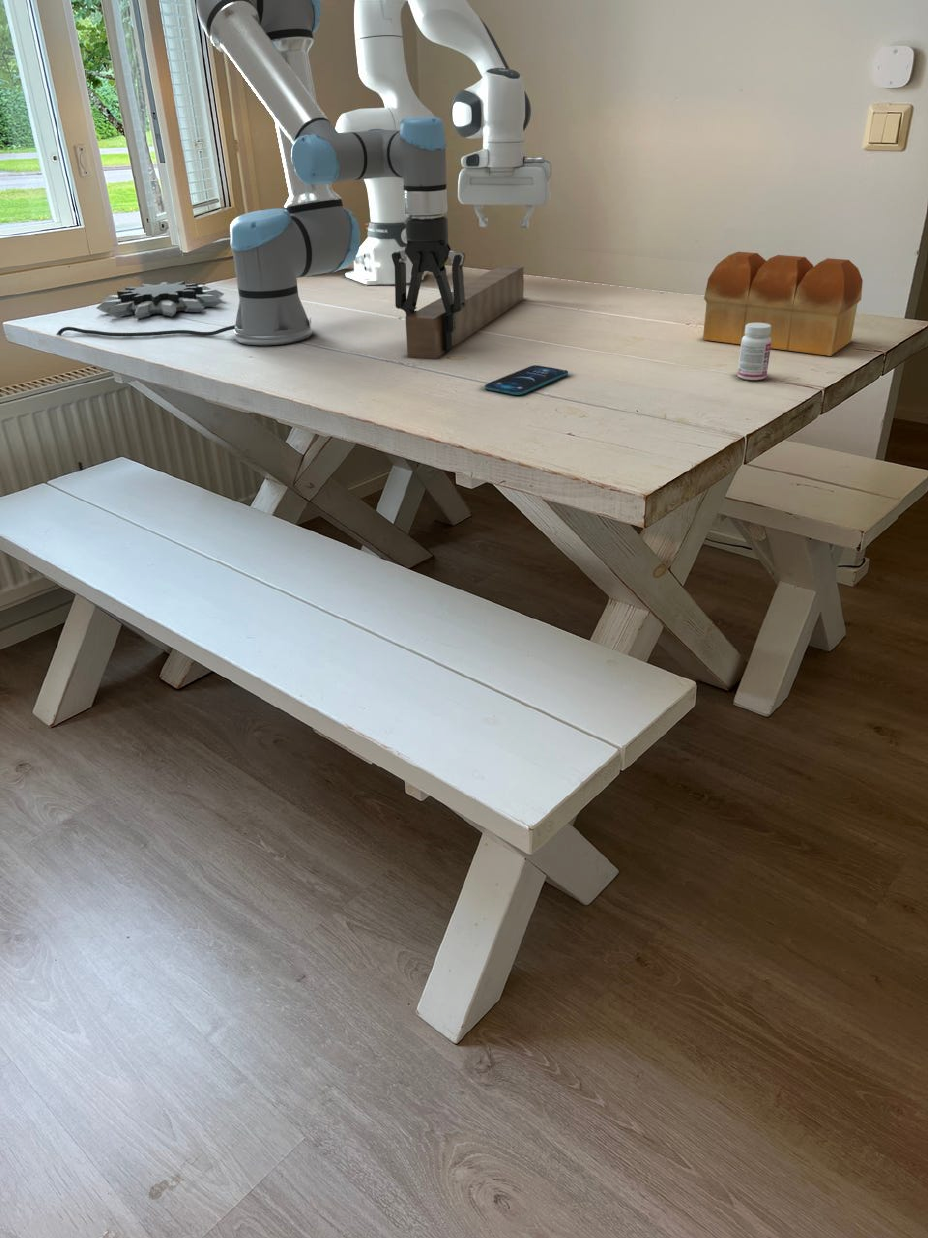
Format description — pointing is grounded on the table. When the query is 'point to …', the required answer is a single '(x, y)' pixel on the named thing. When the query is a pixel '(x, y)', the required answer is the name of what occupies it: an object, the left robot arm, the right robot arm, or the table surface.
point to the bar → (465, 311)
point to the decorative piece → (160, 299)
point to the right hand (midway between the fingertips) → (504, 227)
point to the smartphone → (526, 380)
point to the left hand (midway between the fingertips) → (432, 347)
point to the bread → (784, 301)
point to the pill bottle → (755, 351)
